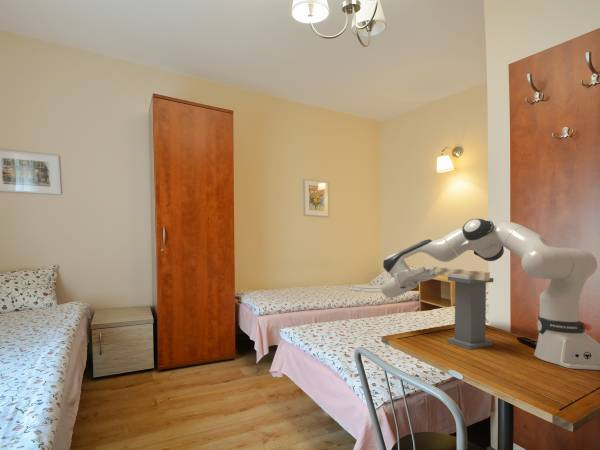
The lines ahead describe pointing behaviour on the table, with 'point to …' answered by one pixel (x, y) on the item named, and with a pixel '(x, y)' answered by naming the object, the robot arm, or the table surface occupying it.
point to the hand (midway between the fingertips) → (431, 268)
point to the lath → (463, 273)
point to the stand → (469, 312)
